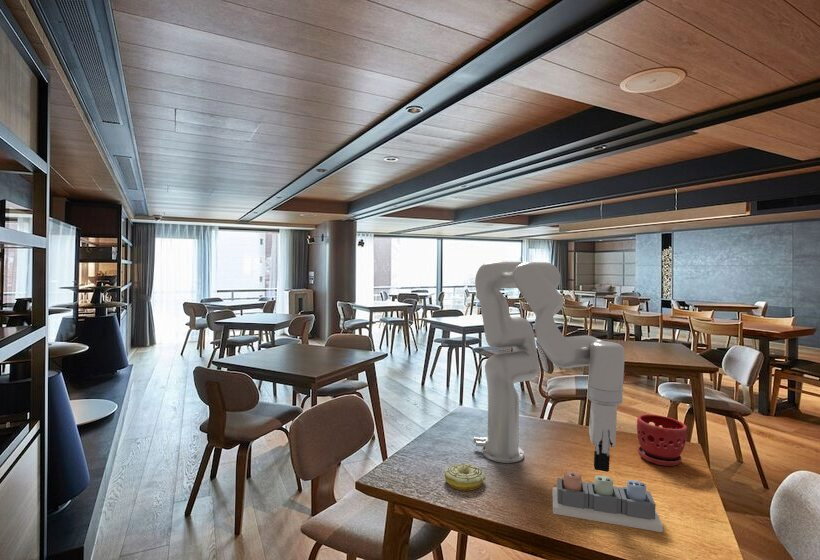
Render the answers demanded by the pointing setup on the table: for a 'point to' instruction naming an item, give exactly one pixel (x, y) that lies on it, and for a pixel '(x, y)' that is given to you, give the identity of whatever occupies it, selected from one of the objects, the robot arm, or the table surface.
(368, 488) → the table surface
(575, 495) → the button board
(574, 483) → the button one pip
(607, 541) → the table surface
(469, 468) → the decorated donut
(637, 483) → the button three pip
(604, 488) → the button two pip
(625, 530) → the table surface
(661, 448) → the plant pot
